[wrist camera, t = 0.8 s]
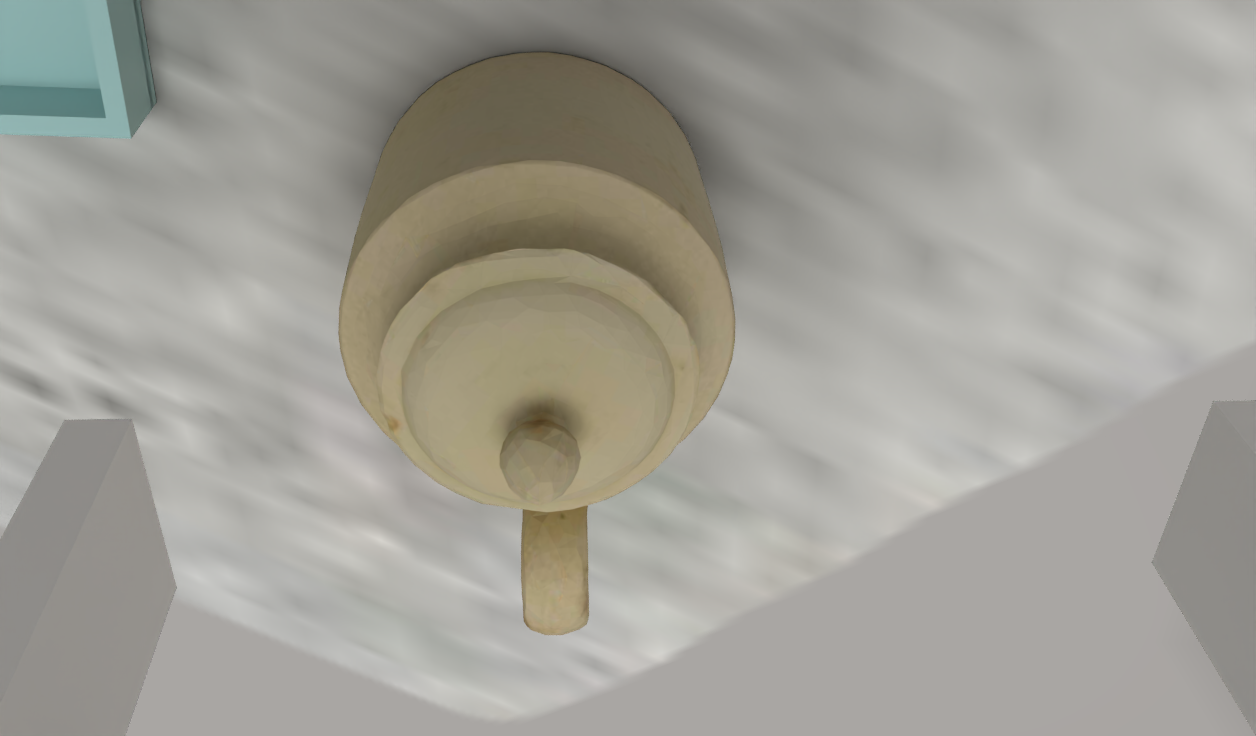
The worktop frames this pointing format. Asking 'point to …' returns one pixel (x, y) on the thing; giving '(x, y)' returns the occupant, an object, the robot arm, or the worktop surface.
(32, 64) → the parts tray
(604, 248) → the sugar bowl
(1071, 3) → the worktop surface
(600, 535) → the worktop surface
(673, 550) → the worktop surface
